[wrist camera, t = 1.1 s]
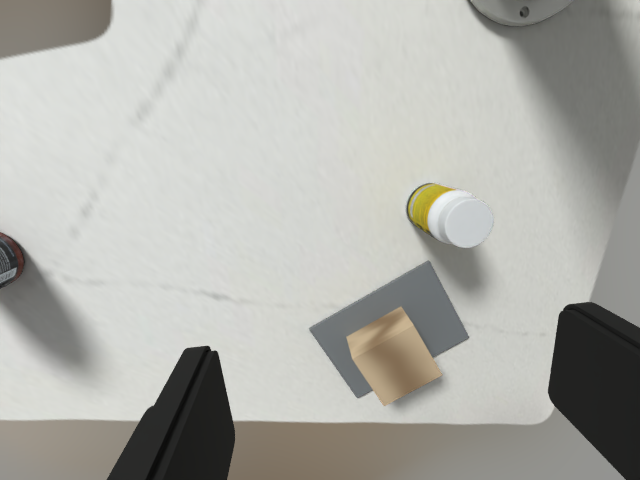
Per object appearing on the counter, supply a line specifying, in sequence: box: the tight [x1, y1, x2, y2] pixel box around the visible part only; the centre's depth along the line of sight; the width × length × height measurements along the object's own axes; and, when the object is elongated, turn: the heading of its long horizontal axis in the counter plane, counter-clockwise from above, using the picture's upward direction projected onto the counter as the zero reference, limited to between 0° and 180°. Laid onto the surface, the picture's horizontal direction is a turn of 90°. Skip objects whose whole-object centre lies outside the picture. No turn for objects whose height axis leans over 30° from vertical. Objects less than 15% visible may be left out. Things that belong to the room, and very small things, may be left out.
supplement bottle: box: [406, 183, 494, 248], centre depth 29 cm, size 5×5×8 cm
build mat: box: [309, 261, 469, 398], centre depth 37 cm, size 15×11×1 cm
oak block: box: [346, 306, 442, 406], centre depth 35 cm, size 7×7×4 cm
